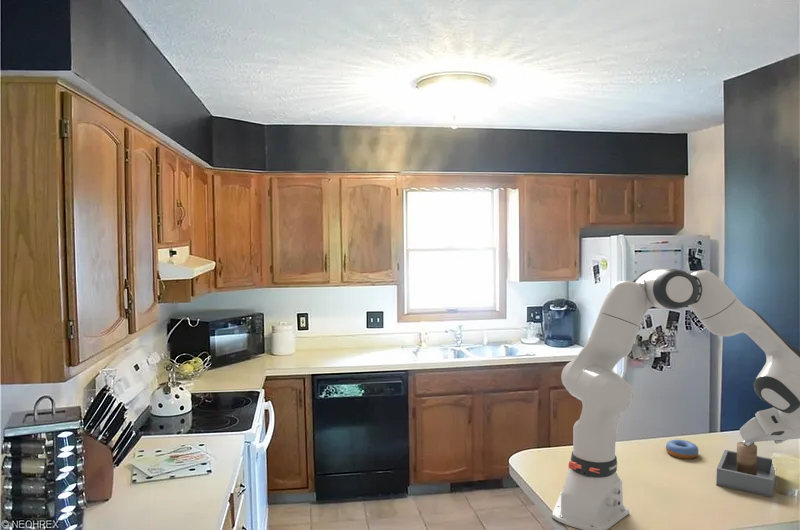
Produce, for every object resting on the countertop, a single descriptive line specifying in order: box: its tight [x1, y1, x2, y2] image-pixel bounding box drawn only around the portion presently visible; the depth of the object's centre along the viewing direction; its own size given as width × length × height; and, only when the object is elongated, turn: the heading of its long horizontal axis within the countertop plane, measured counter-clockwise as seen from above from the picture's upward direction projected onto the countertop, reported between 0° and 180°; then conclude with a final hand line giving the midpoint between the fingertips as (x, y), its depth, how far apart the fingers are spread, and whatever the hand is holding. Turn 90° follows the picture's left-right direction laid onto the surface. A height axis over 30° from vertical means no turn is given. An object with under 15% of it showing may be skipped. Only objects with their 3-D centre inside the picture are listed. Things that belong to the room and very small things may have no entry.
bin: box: [715, 449, 776, 498], centre depth 175 cm, size 18×14×5 cm
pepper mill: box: [736, 440, 758, 476], centre depth 174 cm, size 5×5×11 cm
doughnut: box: [665, 439, 699, 460], centre depth 195 cm, size 10×10×5 cm
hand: (761, 442), depth 168 cm, fingers open, 8 cm apart
